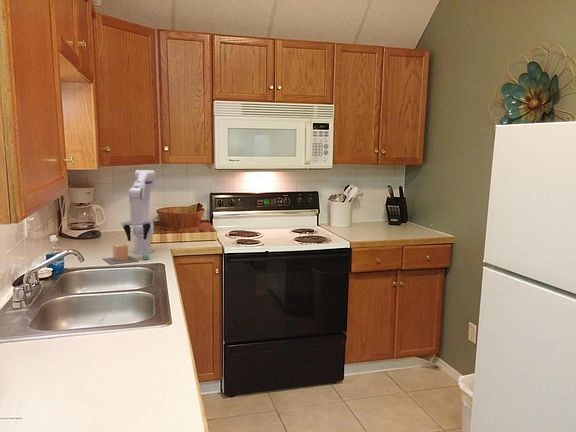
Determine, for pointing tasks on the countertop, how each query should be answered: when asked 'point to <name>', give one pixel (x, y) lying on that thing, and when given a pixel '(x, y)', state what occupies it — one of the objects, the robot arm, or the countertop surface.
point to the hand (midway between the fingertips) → (137, 239)
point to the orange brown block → (120, 252)
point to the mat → (112, 261)
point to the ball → (145, 256)
